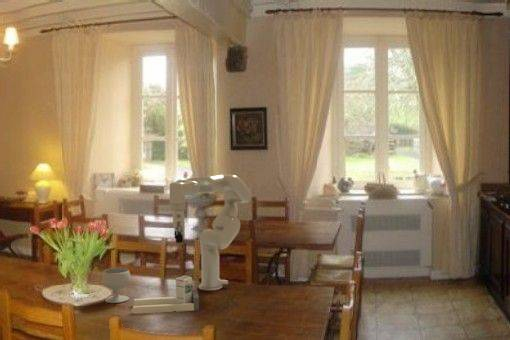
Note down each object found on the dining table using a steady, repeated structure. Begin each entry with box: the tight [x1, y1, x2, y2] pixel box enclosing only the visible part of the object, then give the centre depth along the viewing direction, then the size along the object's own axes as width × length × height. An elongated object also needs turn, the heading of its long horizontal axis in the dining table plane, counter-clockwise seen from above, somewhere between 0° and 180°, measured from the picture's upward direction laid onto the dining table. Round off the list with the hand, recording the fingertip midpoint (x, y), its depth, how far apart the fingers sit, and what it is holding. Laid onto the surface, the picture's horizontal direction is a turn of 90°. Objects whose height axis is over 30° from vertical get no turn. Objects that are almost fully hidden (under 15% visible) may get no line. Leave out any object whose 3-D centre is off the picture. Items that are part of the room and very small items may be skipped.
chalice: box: [101, 267, 132, 304], centre depth 277 cm, size 14×14×15 cm
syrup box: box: [175, 275, 194, 304], centre depth 266 cm, size 6×6×14 cm
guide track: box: [132, 289, 200, 315], centre depth 266 cm, size 30×13×6 cm, turn 100°
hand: (178, 240), depth 280 cm, fingers open, 9 cm apart
